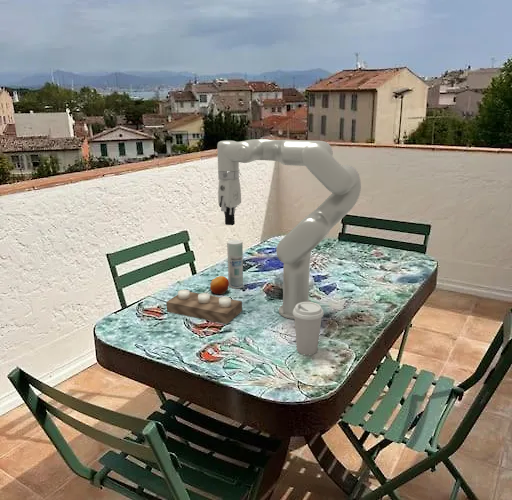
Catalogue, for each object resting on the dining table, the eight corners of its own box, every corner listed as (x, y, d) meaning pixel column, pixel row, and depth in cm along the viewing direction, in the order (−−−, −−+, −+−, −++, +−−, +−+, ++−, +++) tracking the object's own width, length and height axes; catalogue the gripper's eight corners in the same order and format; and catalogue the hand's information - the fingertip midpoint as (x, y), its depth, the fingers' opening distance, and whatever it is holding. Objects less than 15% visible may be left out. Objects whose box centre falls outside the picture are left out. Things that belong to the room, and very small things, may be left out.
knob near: (233, 310, 171) (232, 297, 169) (227, 315, 167) (227, 302, 165) (222, 308, 173) (222, 296, 171) (217, 313, 169) (216, 300, 167)
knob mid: (212, 306, 174) (211, 294, 173) (206, 311, 171) (205, 298, 169) (202, 304, 176) (201, 292, 175) (196, 309, 172) (195, 296, 171)
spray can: (240, 282, 202) (240, 239, 196) (245, 287, 196) (244, 243, 190) (226, 284, 200) (225, 240, 195) (230, 289, 195) (229, 244, 189)
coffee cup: (289, 343, 149) (290, 301, 145) (318, 342, 150) (320, 300, 146) (294, 358, 140) (295, 314, 136) (325, 357, 141) (327, 312, 137)
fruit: (230, 293, 186) (220, 277, 185) (215, 301, 189) (204, 285, 188) (235, 286, 194) (225, 270, 193) (220, 294, 197) (210, 278, 195)
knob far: (192, 302, 178) (191, 290, 176) (186, 307, 174) (185, 294, 173) (182, 301, 180) (182, 288, 178) (176, 305, 176) (175, 292, 174)
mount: (242, 311, 174) (241, 301, 173) (227, 324, 163) (226, 313, 162) (184, 300, 184) (183, 290, 183) (166, 311, 174) (166, 301, 173)
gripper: (228, 178, 158) (229, 230, 163) (246, 173, 171) (247, 221, 176) (209, 177, 161) (211, 228, 166) (229, 172, 174) (230, 219, 179)
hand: (229, 224), depth 171 cm, fingers closed
